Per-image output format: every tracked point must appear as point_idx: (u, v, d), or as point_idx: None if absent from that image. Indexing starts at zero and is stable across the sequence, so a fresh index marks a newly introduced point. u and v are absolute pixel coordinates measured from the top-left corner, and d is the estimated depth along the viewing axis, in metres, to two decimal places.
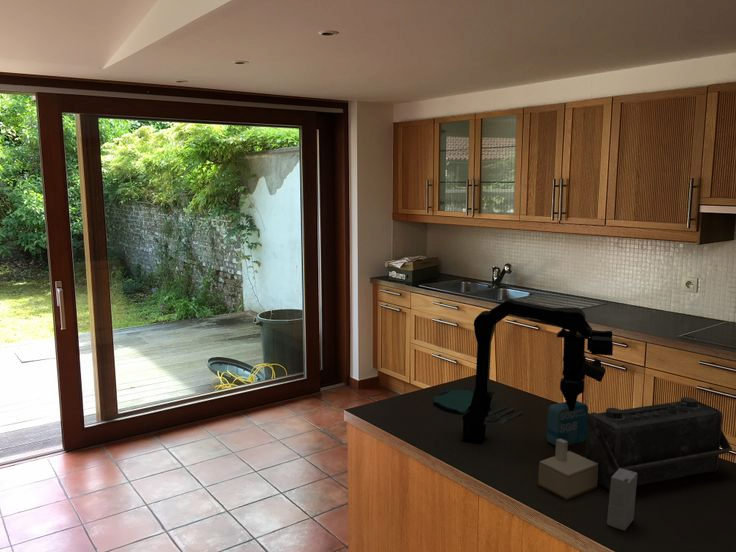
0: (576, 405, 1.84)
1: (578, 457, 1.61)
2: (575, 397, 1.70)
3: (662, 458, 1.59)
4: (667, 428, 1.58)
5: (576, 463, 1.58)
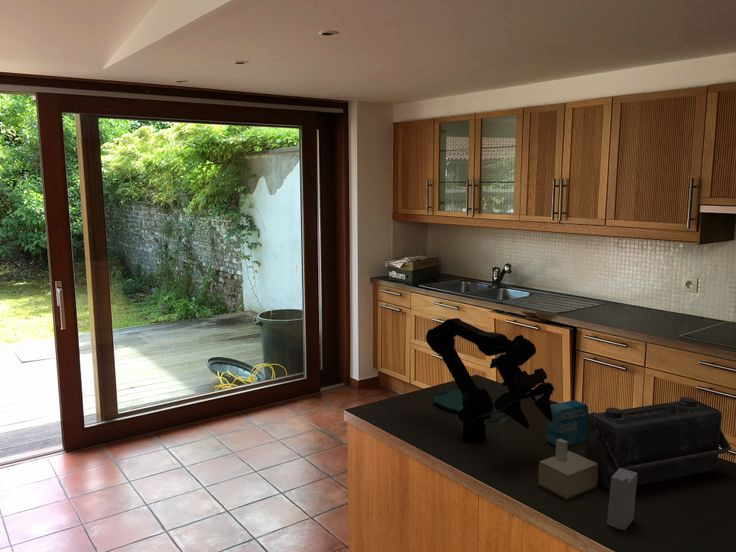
0: (576, 405, 1.84)
1: (578, 457, 1.61)
2: (517, 411, 1.64)
3: (662, 457, 1.59)
4: (666, 428, 1.58)
5: (576, 463, 1.58)
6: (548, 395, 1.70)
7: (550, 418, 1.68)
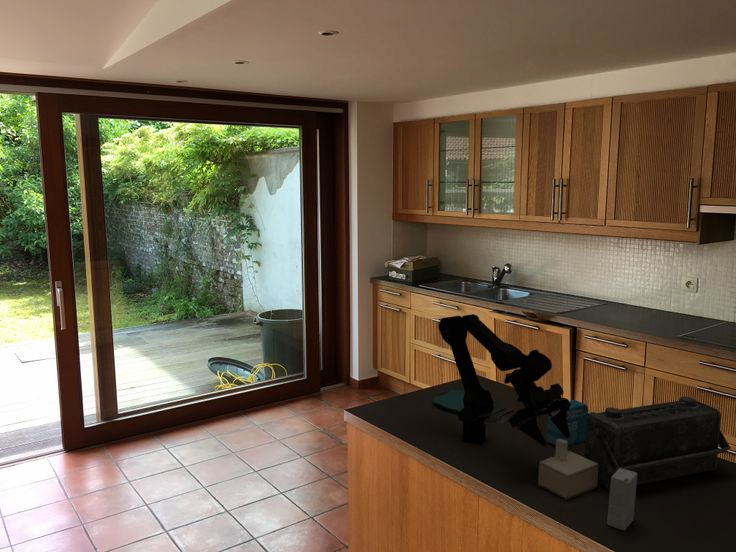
0: (576, 405, 1.84)
1: (578, 457, 1.61)
2: (533, 428, 1.59)
3: (661, 457, 1.59)
4: (666, 428, 1.59)
5: (576, 463, 1.58)
6: (565, 411, 1.65)
7: (567, 435, 1.63)
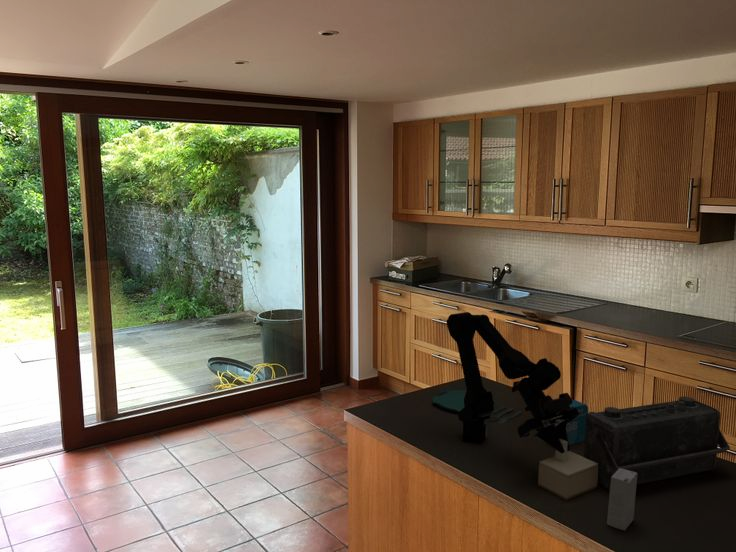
0: (576, 405, 1.84)
1: (578, 457, 1.61)
2: (551, 435, 1.59)
3: (660, 457, 1.60)
4: (665, 427, 1.59)
5: (576, 463, 1.58)
6: (564, 423, 1.61)
7: (567, 448, 1.59)
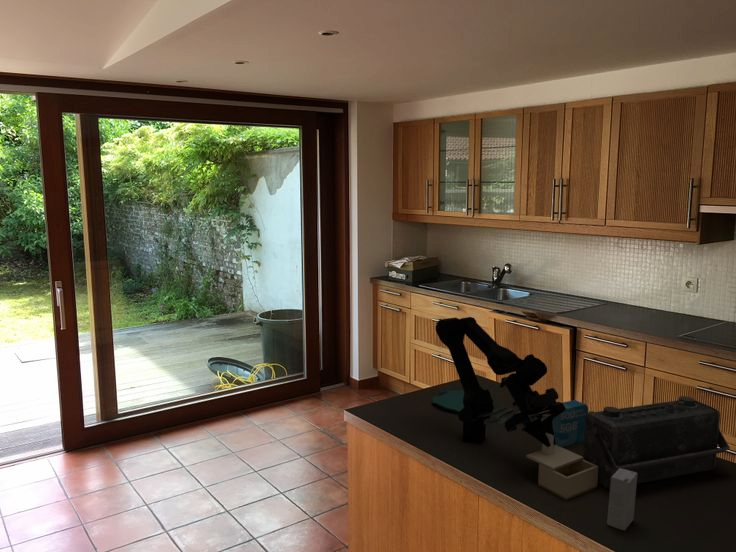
0: (576, 405, 1.84)
1: (564, 450, 1.65)
2: (538, 429, 1.63)
3: (659, 456, 1.60)
4: (664, 427, 1.59)
5: (562, 456, 1.61)
6: (551, 418, 1.65)
7: None
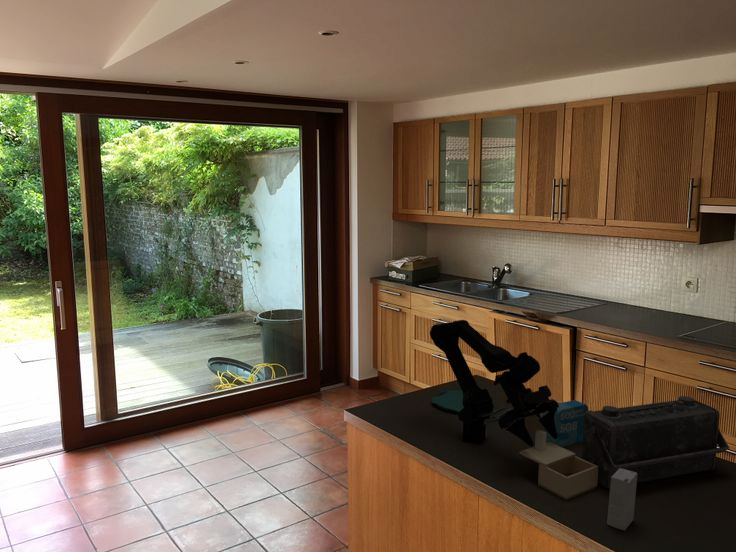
0: (576, 405, 1.84)
1: (557, 447, 1.67)
2: (521, 429, 1.63)
3: (658, 456, 1.60)
4: (663, 427, 1.59)
5: (554, 453, 1.64)
6: (553, 412, 1.69)
7: (555, 436, 1.67)
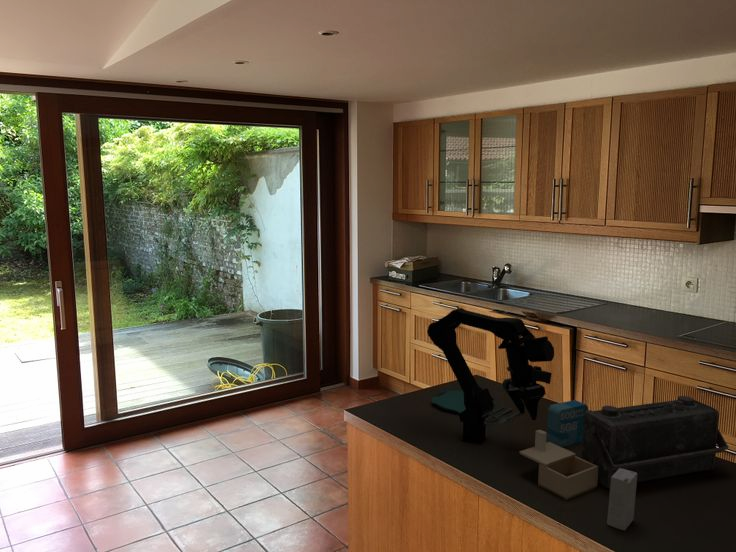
0: (576, 405, 1.84)
1: (557, 447, 1.67)
2: (536, 403, 1.69)
3: (658, 455, 1.60)
4: (662, 426, 1.59)
5: (554, 453, 1.64)
6: None
7: (523, 411, 1.79)
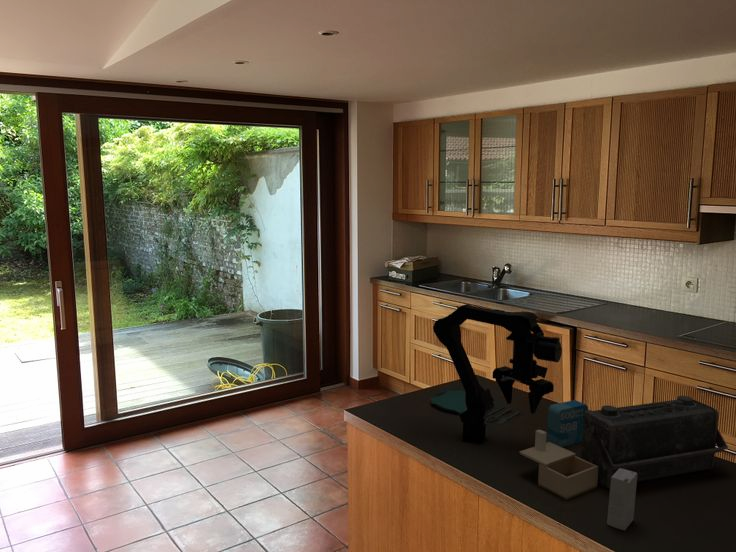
0: (576, 405, 1.84)
1: (557, 447, 1.67)
2: (540, 398, 1.73)
3: (657, 455, 1.61)
4: (662, 426, 1.60)
5: (554, 453, 1.64)
6: None
7: (510, 401, 1.82)
